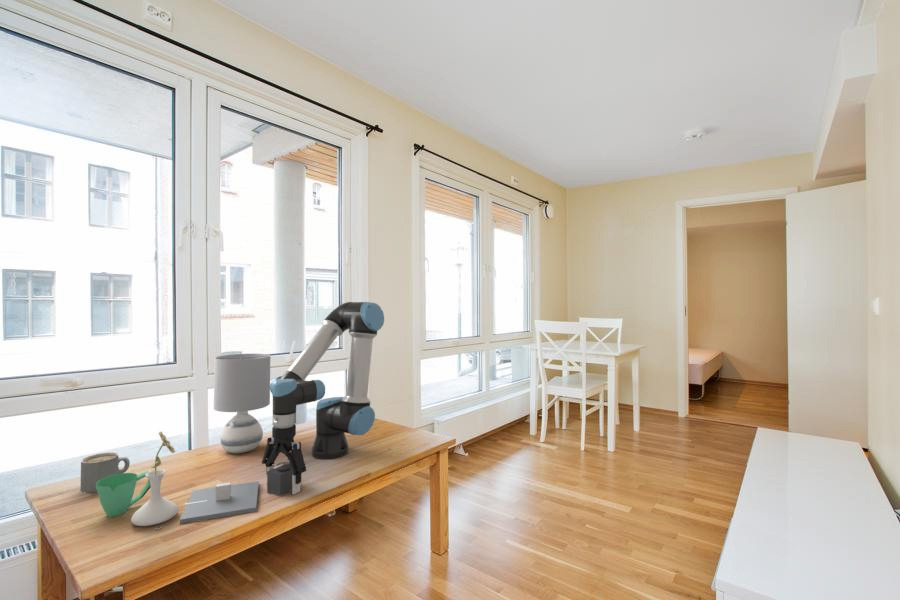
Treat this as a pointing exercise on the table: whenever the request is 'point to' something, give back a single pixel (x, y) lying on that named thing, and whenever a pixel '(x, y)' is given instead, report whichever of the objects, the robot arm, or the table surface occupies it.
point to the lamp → (241, 397)
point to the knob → (280, 479)
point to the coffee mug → (100, 469)
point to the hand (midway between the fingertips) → (283, 488)
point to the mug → (119, 492)
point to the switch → (221, 501)
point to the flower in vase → (156, 497)
